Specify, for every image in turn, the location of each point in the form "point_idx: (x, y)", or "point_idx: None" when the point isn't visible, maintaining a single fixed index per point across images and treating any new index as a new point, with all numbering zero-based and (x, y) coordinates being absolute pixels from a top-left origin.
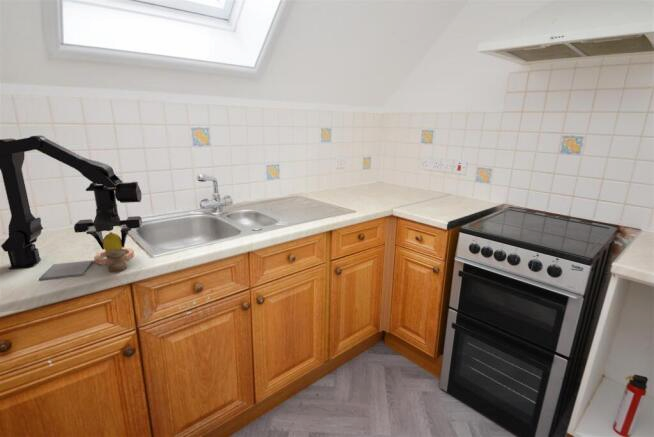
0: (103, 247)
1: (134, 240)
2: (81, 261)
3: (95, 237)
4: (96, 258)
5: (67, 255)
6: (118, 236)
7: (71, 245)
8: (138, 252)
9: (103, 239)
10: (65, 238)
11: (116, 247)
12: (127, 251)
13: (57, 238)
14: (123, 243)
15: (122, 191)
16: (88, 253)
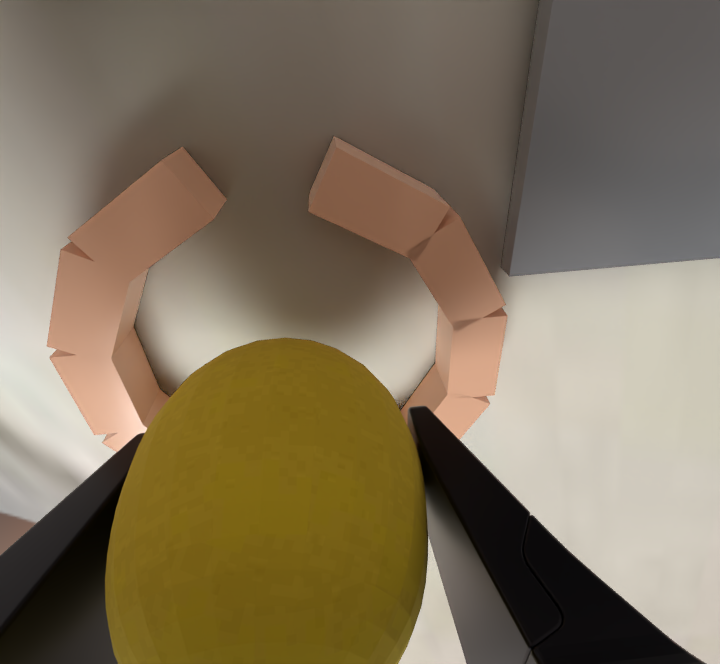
0: (413, 428)
1: None
2: (628, 261)
3: (606, 609)
4: (470, 253)
5: (709, 453)
6: (114, 650)
7: (663, 584)
8: None
9: (422, 566)
10: None
11: (183, 389)
12: None
13: (716, 647)
14: (88, 486)
15: None
16: (560, 470)
